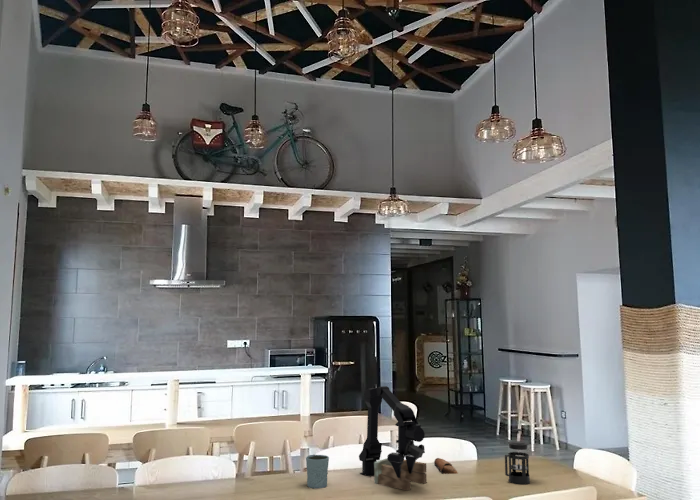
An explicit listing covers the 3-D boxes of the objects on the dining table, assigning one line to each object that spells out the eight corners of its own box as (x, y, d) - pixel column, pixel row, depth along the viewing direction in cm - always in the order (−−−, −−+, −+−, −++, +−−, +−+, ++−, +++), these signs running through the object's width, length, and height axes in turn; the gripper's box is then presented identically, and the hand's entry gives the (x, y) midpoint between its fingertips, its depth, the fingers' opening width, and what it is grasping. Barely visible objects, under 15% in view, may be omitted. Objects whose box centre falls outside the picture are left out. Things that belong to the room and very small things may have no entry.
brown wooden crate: (374, 483, 247) (374, 462, 249) (394, 475, 260) (394, 455, 261) (407, 490, 237) (406, 468, 238) (426, 482, 249) (426, 461, 250)
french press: (524, 478, 257) (522, 426, 260) (535, 484, 248) (533, 430, 251) (501, 479, 255) (499, 427, 258) (511, 485, 245) (509, 431, 249)
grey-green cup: (311, 490, 237) (311, 460, 238) (301, 484, 246) (302, 455, 247) (332, 487, 241) (332, 458, 243) (322, 481, 250) (323, 453, 252)
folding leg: (380, 473, 247) (380, 464, 247) (384, 472, 248) (384, 463, 249) (401, 480, 235) (401, 471, 236) (405, 479, 237) (405, 470, 237)
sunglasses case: (459, 473, 265) (452, 461, 265) (447, 481, 264) (439, 469, 264) (450, 464, 282) (443, 452, 283) (438, 471, 281) (431, 460, 282)
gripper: (409, 443, 230) (409, 483, 228) (431, 437, 245) (431, 474, 242) (386, 440, 237) (386, 478, 234) (409, 434, 251) (409, 470, 249)
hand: (404, 475), depth 240 cm, fingers open, 9 cm apart
